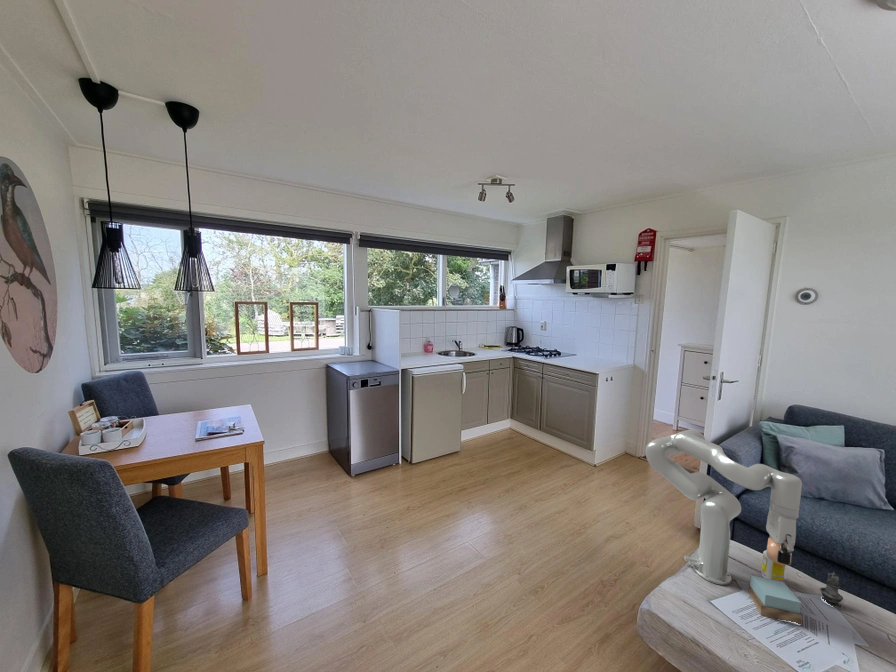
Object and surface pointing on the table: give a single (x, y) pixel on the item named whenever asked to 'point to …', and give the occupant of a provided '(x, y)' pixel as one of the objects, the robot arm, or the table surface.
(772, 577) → the supplement bottle
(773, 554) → the brown egg
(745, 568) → the table surface
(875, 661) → the table surface
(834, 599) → the dark grey figurine
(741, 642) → the table surface
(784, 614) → the tower base block
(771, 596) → the tower top block
